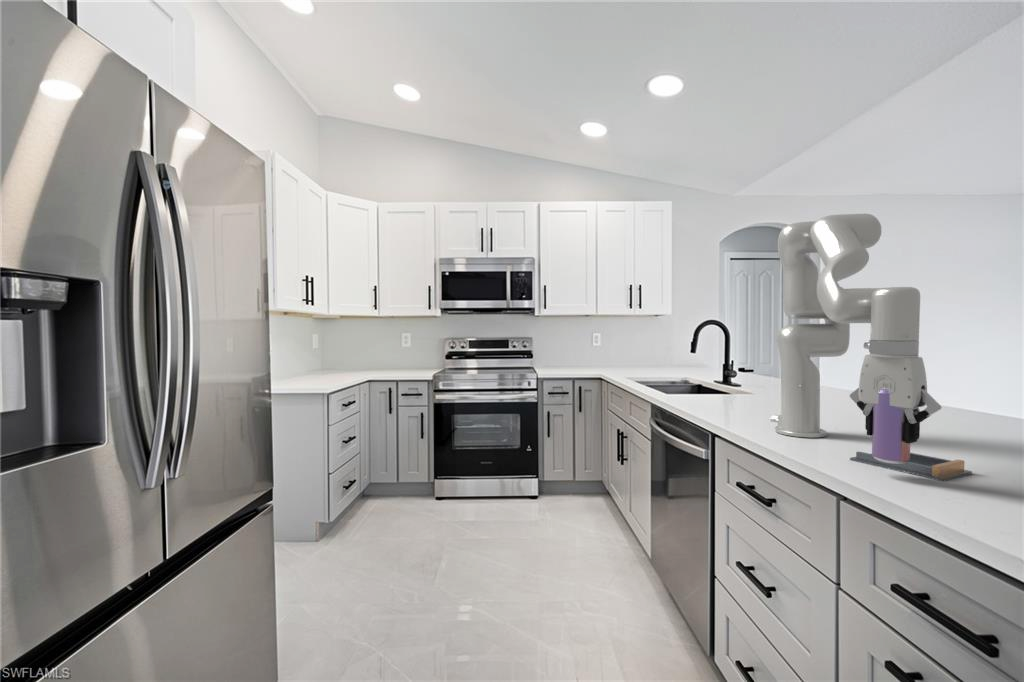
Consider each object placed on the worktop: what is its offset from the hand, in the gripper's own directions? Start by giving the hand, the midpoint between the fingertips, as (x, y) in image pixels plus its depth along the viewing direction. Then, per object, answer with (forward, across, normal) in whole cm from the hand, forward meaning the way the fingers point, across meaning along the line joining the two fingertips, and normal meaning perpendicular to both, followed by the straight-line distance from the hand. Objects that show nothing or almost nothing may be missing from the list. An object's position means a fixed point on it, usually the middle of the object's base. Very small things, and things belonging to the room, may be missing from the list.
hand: (891, 437), depth 94 cm
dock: (+8, -3, +11) cm, 14 cm away
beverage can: (+5, 0, 0) cm, 5 cm away
